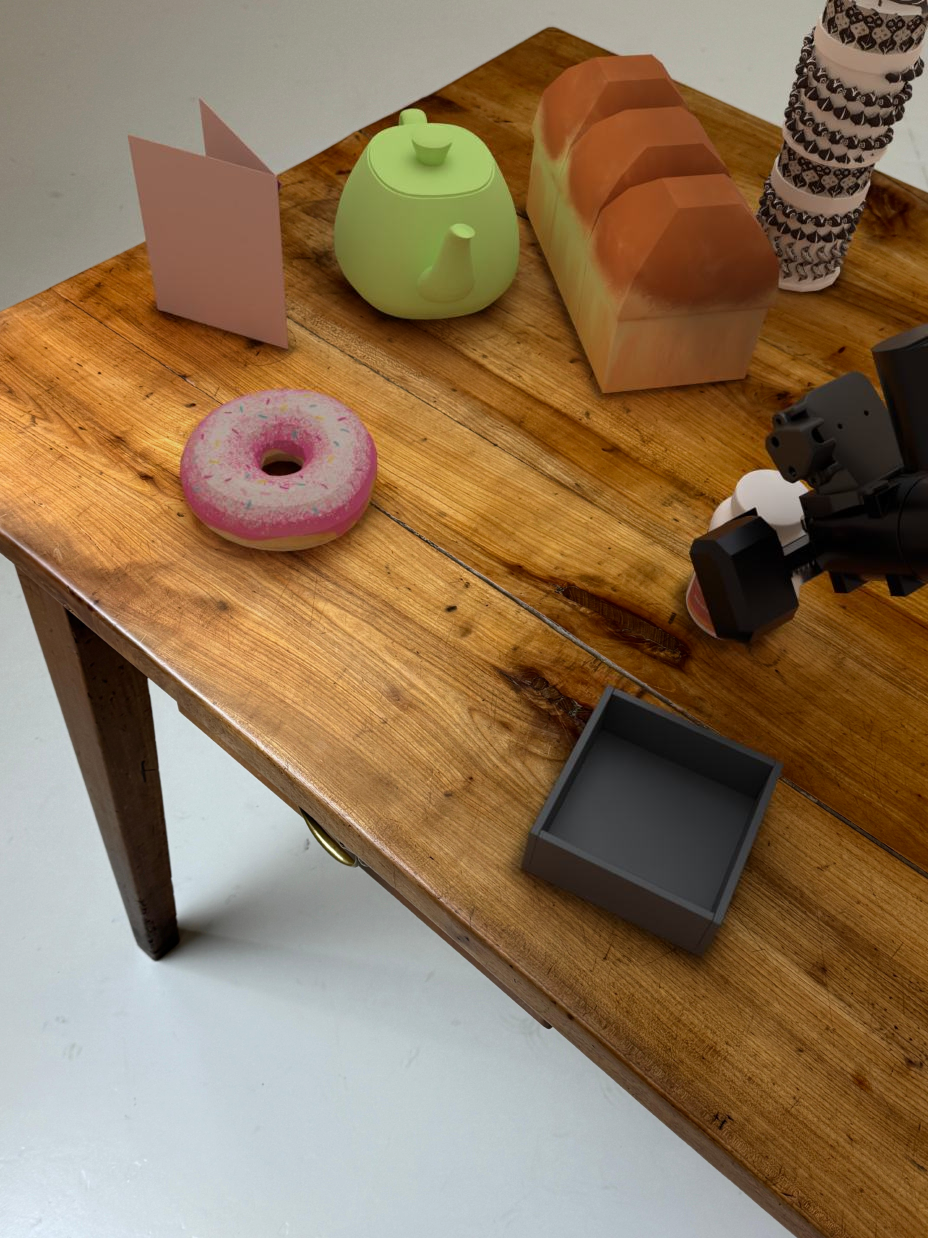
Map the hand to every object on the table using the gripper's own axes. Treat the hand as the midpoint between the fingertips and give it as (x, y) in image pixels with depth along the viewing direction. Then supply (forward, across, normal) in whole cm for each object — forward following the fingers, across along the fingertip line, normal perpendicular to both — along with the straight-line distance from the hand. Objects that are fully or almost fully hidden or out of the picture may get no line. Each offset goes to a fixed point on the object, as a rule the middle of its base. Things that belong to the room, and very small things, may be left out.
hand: (740, 530), depth 75 cm
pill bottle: (+4, 0, +6) cm, 7 cm away
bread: (+25, -16, -16) cm, 33 cm away
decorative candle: (+22, -31, -13) cm, 40 cm away
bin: (-3, +16, +13) cm, 20 cm away
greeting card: (+34, +16, -25) cm, 45 cm away
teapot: (+31, -1, -22) cm, 38 cm away
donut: (+21, +21, -12) cm, 32 cm away
